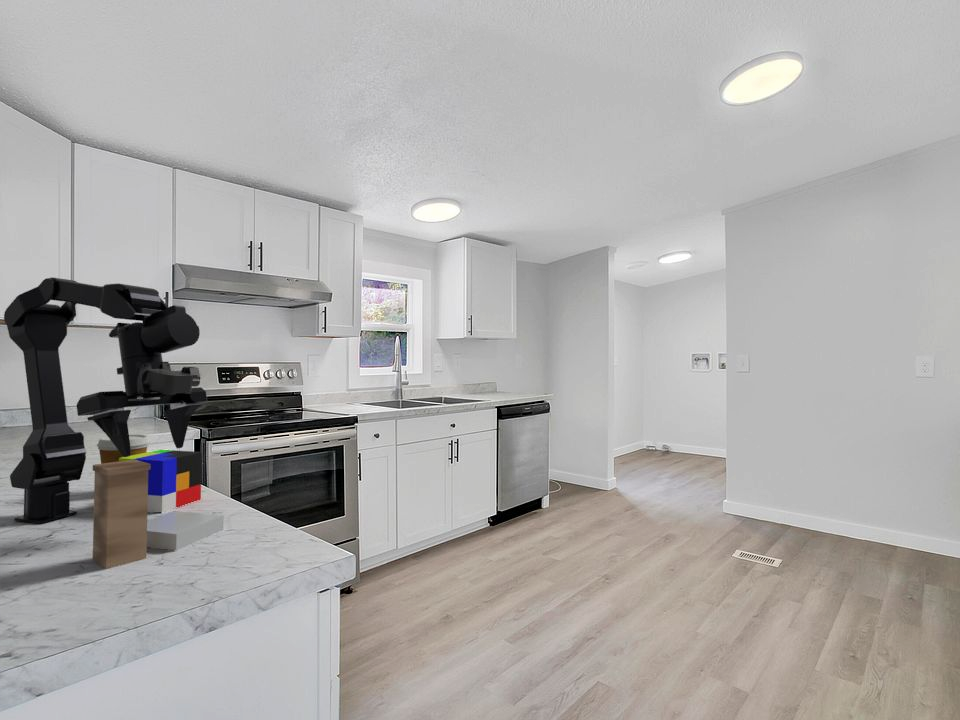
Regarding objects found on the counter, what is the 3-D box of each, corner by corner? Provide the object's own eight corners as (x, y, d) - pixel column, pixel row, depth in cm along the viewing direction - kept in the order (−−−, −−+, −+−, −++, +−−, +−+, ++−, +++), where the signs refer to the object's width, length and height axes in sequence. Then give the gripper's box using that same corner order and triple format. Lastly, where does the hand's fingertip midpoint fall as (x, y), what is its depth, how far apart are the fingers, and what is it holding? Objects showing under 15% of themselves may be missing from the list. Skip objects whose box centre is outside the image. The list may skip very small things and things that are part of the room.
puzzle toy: (162, 513, 97) (163, 460, 97) (117, 509, 99) (118, 458, 99) (200, 500, 107) (201, 452, 107) (159, 496, 109) (160, 449, 109)
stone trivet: (122, 547, 80) (123, 528, 80) (174, 527, 90) (174, 510, 90) (176, 553, 78) (176, 534, 78) (223, 532, 88) (223, 515, 88)
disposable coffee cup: (83, 496, 108) (85, 439, 108) (124, 486, 117) (126, 433, 117) (120, 499, 105) (122, 441, 106) (159, 489, 115) (160, 435, 115)
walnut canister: (90, 560, 74) (92, 464, 74) (132, 549, 78) (134, 459, 78) (105, 570, 71) (107, 469, 71) (148, 558, 75) (150, 464, 75)
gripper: (119, 346, 74) (133, 454, 73) (224, 350, 91) (236, 437, 90) (68, 362, 78) (81, 465, 76) (178, 363, 95) (190, 446, 94)
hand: (154, 452), depth 84 cm, fingers open, 9 cm apart
